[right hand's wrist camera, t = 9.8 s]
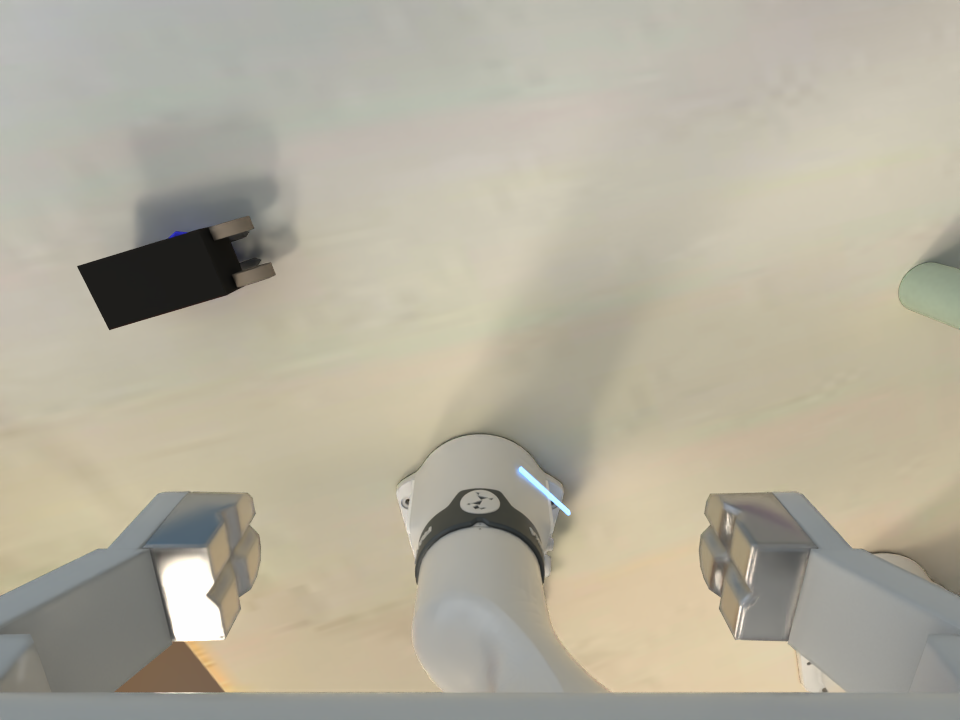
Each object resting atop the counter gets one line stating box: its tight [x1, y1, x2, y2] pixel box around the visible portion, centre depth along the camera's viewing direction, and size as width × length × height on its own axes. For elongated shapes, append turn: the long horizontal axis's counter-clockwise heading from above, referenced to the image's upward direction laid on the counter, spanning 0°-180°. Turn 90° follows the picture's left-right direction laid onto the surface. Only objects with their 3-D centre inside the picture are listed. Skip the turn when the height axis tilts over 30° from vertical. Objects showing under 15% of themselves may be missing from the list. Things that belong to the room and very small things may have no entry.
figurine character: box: [77, 216, 276, 330], centre depth 54 cm, size 7×8×15 cm
